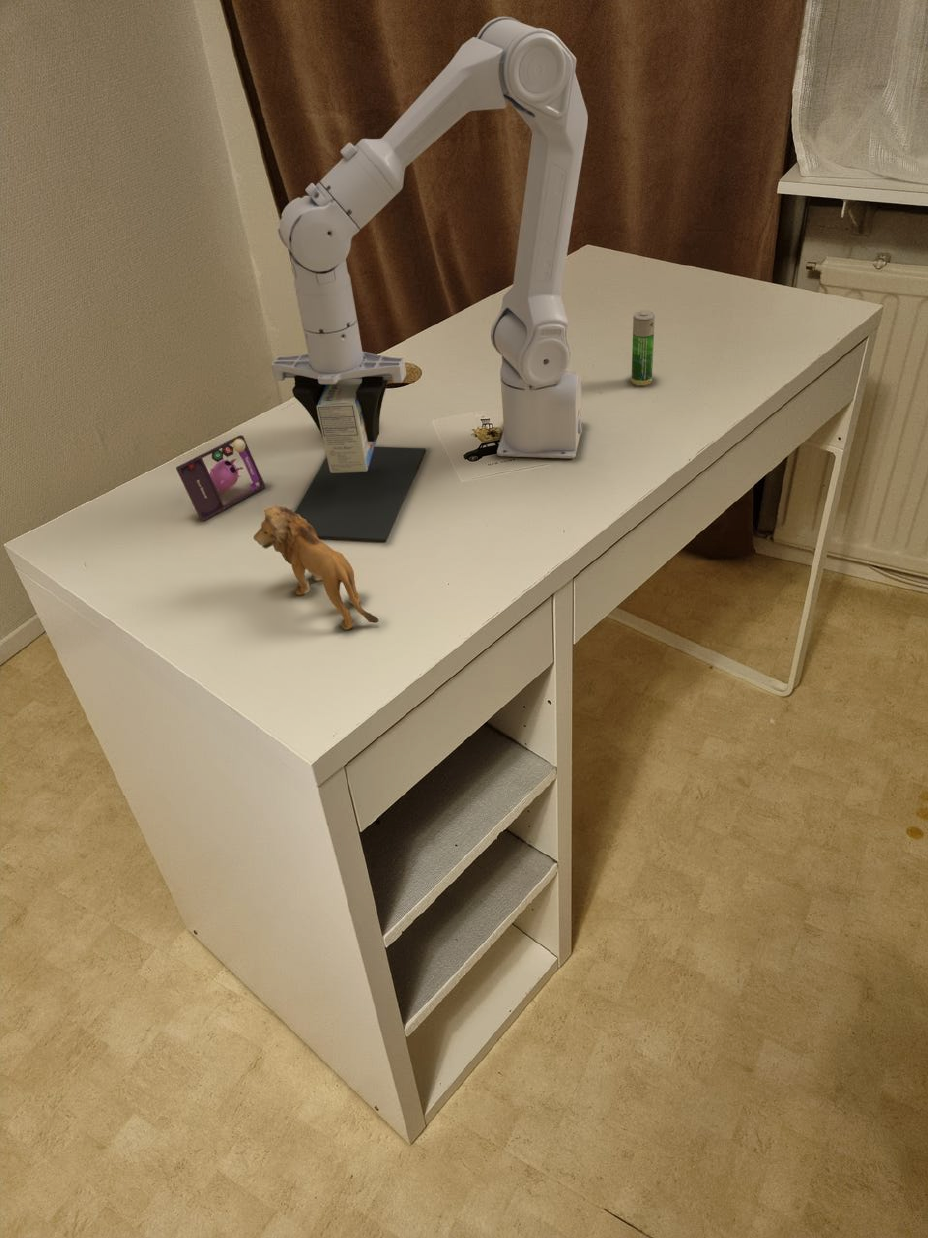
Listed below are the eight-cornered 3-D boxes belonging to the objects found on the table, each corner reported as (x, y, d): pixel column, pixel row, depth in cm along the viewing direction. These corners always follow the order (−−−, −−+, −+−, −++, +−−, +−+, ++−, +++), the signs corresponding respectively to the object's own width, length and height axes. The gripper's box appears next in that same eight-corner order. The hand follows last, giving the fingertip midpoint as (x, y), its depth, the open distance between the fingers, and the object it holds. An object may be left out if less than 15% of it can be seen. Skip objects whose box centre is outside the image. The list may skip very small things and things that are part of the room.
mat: (426, 450, 117) (425, 447, 117) (385, 542, 103) (385, 539, 103) (333, 447, 119) (333, 445, 119) (282, 536, 105) (281, 533, 105)
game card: (179, 467, 106) (245, 434, 110) (161, 466, 110) (225, 434, 114) (205, 521, 108) (268, 487, 113) (186, 518, 112) (248, 485, 117)
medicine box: (368, 473, 106) (356, 403, 100) (329, 474, 106) (315, 404, 101) (378, 437, 112) (368, 369, 106) (341, 438, 112) (329, 370, 107)
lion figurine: (261, 586, 99) (240, 515, 93) (299, 560, 102) (281, 490, 96) (361, 640, 91) (345, 566, 85) (398, 610, 94) (385, 537, 88)
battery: (651, 386, 124) (654, 317, 118) (631, 386, 125) (633, 317, 119) (651, 377, 126) (655, 308, 120) (631, 377, 127) (633, 308, 121)
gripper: (251, 338, 97) (279, 453, 106) (386, 339, 94) (403, 457, 103) (274, 309, 102) (299, 421, 111) (404, 309, 99) (419, 424, 108)
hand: (351, 436), depth 108 cm, fingers closed on medicine box, 5 cm apart
